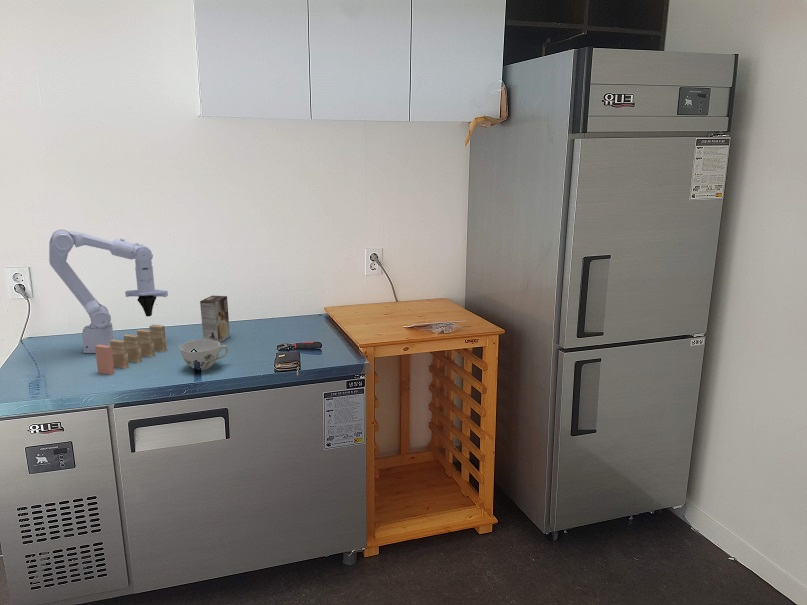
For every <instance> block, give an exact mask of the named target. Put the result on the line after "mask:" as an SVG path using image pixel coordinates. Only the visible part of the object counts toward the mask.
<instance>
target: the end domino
mask: <svg viewBox="0 0 807 605" xmlns="http://www.w3.org/2000/svg"><path fill="white" fill-rule="evenodd" d="M95 352H96V353H95V358H96V366H97V373H98V374H104V375H109V376H111V375H113V374H115V372H116V371H115V367H114V364H113V355H112V347H111V346H106V345H100V344H99V345H96V346H95Z"/></svg>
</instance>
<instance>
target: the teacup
mask: <svg viewBox="0 0 807 605" xmlns="http://www.w3.org/2000/svg"><path fill="white" fill-rule="evenodd" d="M228 347H229V346H228V345H227V344H226V345H225V344H222V345H221V343H219V342H217V341H215V340H212V339H203V338H198V339H192V340H189V341H186V342H184V343H182V344H180V346H179V350H180V353H181V356H182V358H183V360H184V362H185V363H186V364H187V365H188V366H189V367H190V368H192V369H193V361H195V360H197V361H198V362H200V368H201V370H203V371H206V370H209V369H211V367H212V366H214V364H215V363H216V362H217V361H218V360H221V359H223V358H225V357H227V354H229V348H228ZM193 349H195V350H196V351H197V352H191V351H192V350H193ZM223 349H225V353H224V354H222V355H220V353H221V351H222V350H223ZM219 355H220V356H219Z"/></svg>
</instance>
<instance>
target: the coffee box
mask: <svg viewBox="0 0 807 605" xmlns="http://www.w3.org/2000/svg"><path fill="white" fill-rule="evenodd" d="M199 304H200V305H199V306H200V316H201V327H202V328H201V330H202V339H212V340H215V341H217V342H219V343H220V344H221V343H223V342H224V341H225V340H227V339H229V338H230V337H231V332H230V330H231V329H230V319H229V318H230V317H229V307H228V306H229V303H228V296H226V295H211V296H209V297H205V298H204V299H202V300H200V301H199Z"/></svg>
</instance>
